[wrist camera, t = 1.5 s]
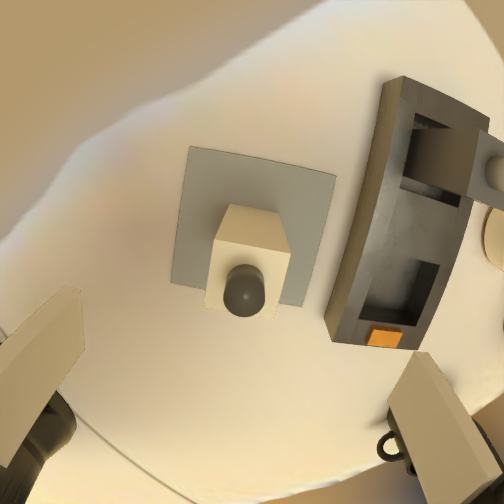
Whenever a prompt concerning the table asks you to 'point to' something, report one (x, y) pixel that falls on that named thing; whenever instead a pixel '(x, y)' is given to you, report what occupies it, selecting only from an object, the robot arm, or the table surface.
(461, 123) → the strip
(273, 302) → the plug
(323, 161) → the table surface
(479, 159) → the twin plug
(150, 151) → the table surface
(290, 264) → the mat
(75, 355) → the robot arm
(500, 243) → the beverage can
